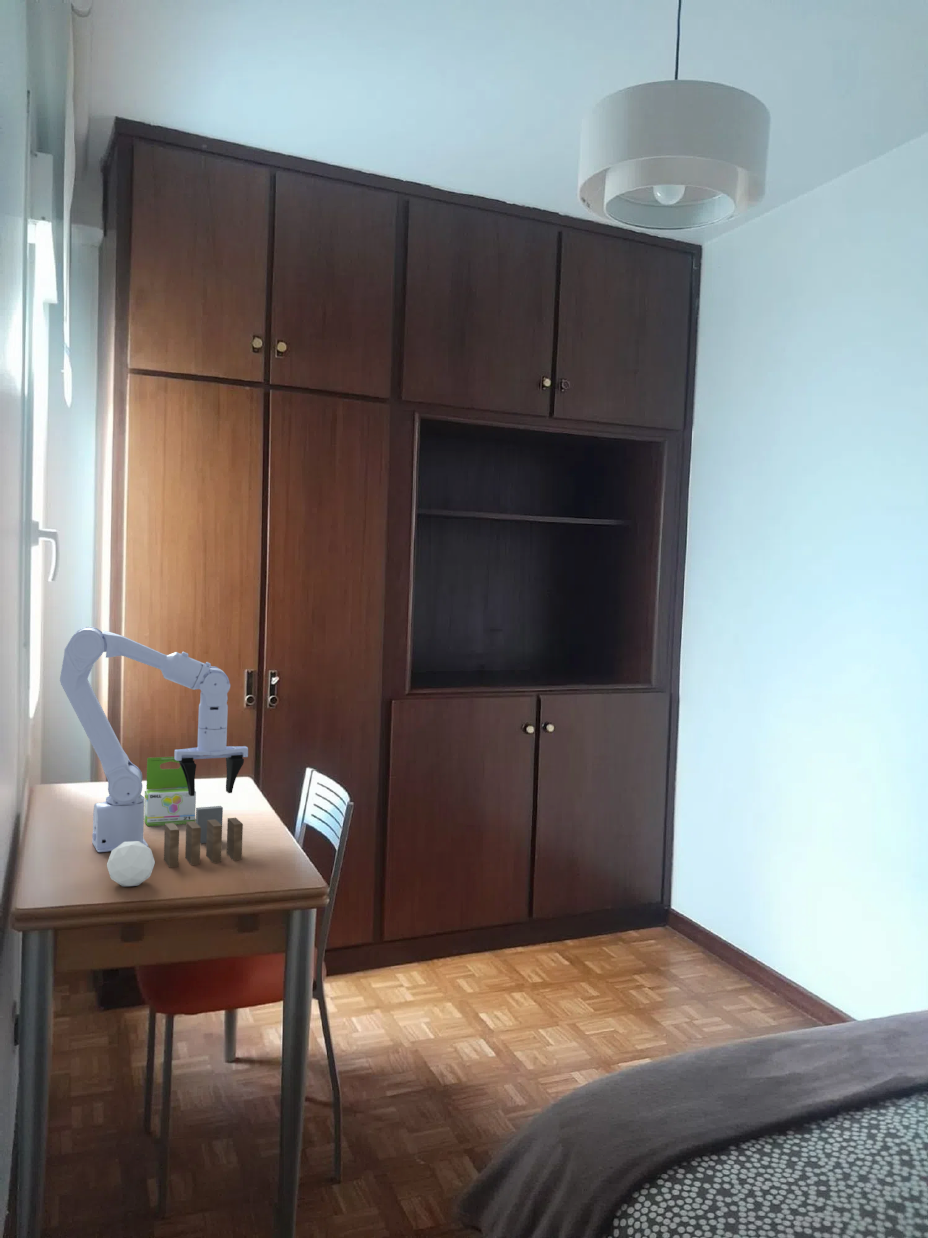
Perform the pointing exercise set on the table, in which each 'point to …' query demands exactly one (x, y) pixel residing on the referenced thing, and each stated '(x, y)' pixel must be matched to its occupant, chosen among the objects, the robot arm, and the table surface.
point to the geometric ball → (130, 863)
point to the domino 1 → (171, 845)
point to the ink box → (167, 795)
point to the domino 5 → (234, 839)
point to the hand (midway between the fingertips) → (210, 793)
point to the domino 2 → (193, 842)
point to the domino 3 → (207, 818)
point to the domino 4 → (214, 841)
